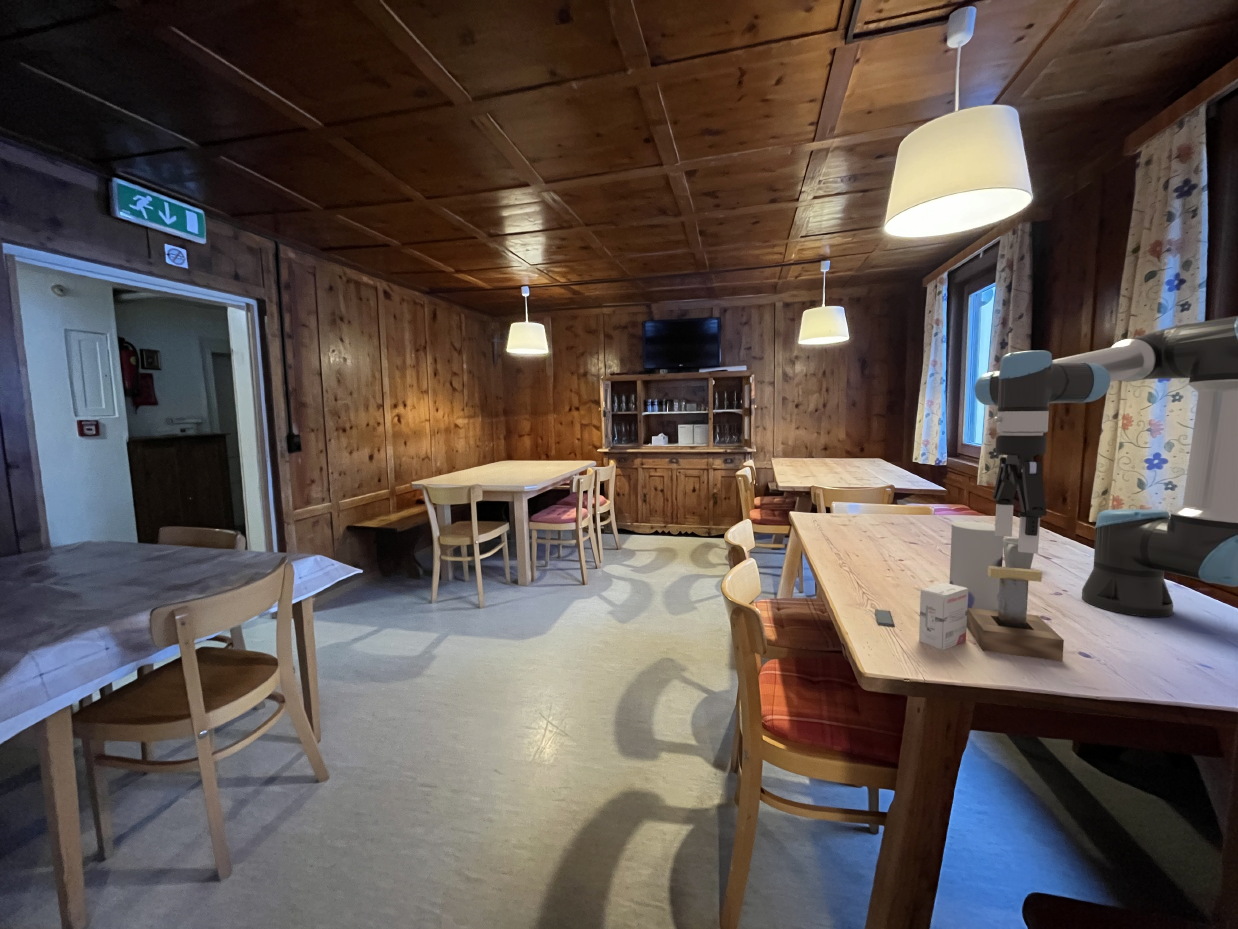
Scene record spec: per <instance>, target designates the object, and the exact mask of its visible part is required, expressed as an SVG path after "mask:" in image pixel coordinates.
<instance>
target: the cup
mask: <svg viewBox="0 0 1238 929" xmlns="http://www.w3.org/2000/svg"><path fill="white" fill-rule="evenodd" d="M1018 541H1019V537H1018V538H1017V537H1016V538H1015V537H1004V540H1003V558H1004V565H1005V566H1004V567H1008V568H1021V569H1032V568H1031V567H1032V563H1033V559H1034V554H1035V553H1026V552H1019V551H1018Z"/></svg>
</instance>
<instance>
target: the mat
mask: <svg viewBox="0 0 1238 929" xmlns="http://www.w3.org/2000/svg"><path fill="white" fill-rule="evenodd" d="M874 613H875V616H876V621H877V625H879V626H885V627H894V628H895V627H896V625H895V622H894V618H893V616H892V613H891V611H890V610H886V609H885V610H884V609H878V608H877V609H876V608H875V609H874Z"/></svg>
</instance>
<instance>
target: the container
mask: <svg viewBox="0 0 1238 929" xmlns="http://www.w3.org/2000/svg"><path fill="white" fill-rule="evenodd" d="M1004 539H1005V536H995V524H993V523H988V522H982V521H981V522H980V521H965V520H964V521H954V522H952V523H951V534H950V558H949V559H950V560H949V561H950V562H949V584H952V585H957V586H961V587H965V588H967V589H968V607H967V608H973V609H982V610H992V611H998V601H999V580H1000V578H992V577H990V576H989V575H988V566H995V567H1003V558H1004V549H1003V540H1004Z"/></svg>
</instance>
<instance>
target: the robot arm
mask: <svg viewBox="0 0 1238 929" xmlns="http://www.w3.org/2000/svg"><path fill="white" fill-rule="evenodd" d="M1052 356H1053V354H1052V353H1051V352H1050V351H1048V350H1025V351H1017V352H1016V351H1015V352H1010V353H1007V354H1005V355H1003V356H1002V357H1001V360H1000V366H999V370H994V371H991V372H986V373H983V374H982V375H981V376H979V378H978V379H977V380H976V382H975V386H974V395H975V398H976V400H977V401H978V402H979V403H981V404H983V405H985V406H996V407H997V416H995V417H994V418H993V421H994V422H997V423H996V432H997V433H1000V434H999V435H997V436H996V437H995V454H997V455H1001V456H1000V458H999V465H998V466H999V467H998V472H997V475H996V476H997V477H996V480H995V481H996V482H995V485H994V489H993V493H992V499H993V500H994V501H995V502H994V503H996V506H995V520H994V522H995V536H1004V537H1006V538H1013V536H1012V535H1013V522H1014V505H1016V504H1017V503H1016V500H1015V495H1016V493H1017V496H1018V500H1019V505H1020V508H1021V511H1019V512H1018V514H1017V517H1018V518H1019V526H1018V527H1019V528H1018V539H1019V541H1018V551H1019V552H1026V553H1034V554H1039V544H1040V542H1039V541H1040V529H1041V528H1040V526H1041V518H1042V517H1046V516H1047V514H1048V513H1047V504H1046V501H1045V500H1046V498H1045V490H1044V483H1043V476H1042V473H1043V472H1042V471H1043V470H1042V468H1043V467H1042V466H1043V464H1042V462H1041V461H1034V457H1035V456H1037V457H1039V456H1044V455H1045V454H1046V452H1047V443H1048V442H1047V441H1048V440H1047V439H1048V437H1047V436H1046V435H1044V434H1045V433H1047V432H1048V431H1049V416H1050V415H1049V413H1050V411H1049V408H1050V407H1049V406H1050V404H1063V403H1065V404H1067V403H1068V404H1069V403H1073V404H1083V403H1090V402H1095V401H1097V400H1099V399H1100V398H1102V397H1104V395H1105V394H1106V393H1107V392H1108V391H1109V389H1110V386H1111V383H1113V382H1116V381H1120V382H1124V383H1130V382H1131V383H1132V382H1137V381H1141V380H1159V379H1161V380H1163V379H1164V380H1165V379H1167V380H1168V379H1189V381H1188V385H1189V386H1190V387H1191V389H1192V388H1193V389H1194V390H1195V391H1196V393H1197V400H1196V409H1195V415H1194V422H1193V430H1192V437H1191V444H1190V451H1189V458H1188V465H1187V471H1186V479H1185V486H1184V495H1183V502H1182V505H1181V506H1179V507H1178V508H1175V509H1174V510H1171V511H1170V513H1169V511H1167V510H1163V509H1147V508H1146V509H1145V508H1144V509H1140V508H1139V509H1137V508H1134V509H1133V508H1132V509H1131V508H1127V509H1125V508H1121V509H1119V508H1118V509H1105V510H1102V511H1100V512H1099V513H1098V514H1097V518H1096V524H1095V526H1094V530H1095V532H1094V534H1095V535H1094V550H1093V551H1094V552H1093V554H1094V555H1093V568H1092V571H1091V572H1090V574H1089V575H1088V578H1087V579H1086V581H1085V583H1084V585H1083V587H1082V589H1081V599H1082V600H1083V601H1084V602H1085V603H1088V604H1090V605H1092V606H1095V607H1097V608H1101V609H1104V610H1108V611H1110V612H1116V613H1122V614H1126V615H1132V616H1136V617H1137V616H1139V617H1147V618H1148V617H1149V618H1165V617H1171V616H1172V615H1173V614H1174V603H1173V599H1172V597H1171V594H1170V591H1169V589H1168V587H1167V584H1166V581H1165V573H1170V574H1175V575H1179V576H1184V577H1188V578H1192V579H1194V580H1200V581H1202V582H1204V583H1208V584H1216V585H1221V586H1222V585H1223V586H1226V587H1234V588H1236V587H1238V315H1235V316H1228V317H1221V318H1217V319H1211V320H1204V321H1198V322H1192V323H1185V324H1178V325H1174V326H1169V327H1166V328H1163V329H1160V330H1155V331H1153V332H1150V333H1145V334H1143V335H1139V336H1135V337H1132V338H1127V339H1123V340H1120V341H1118V342H1115V344H1113V345H1112V346H1111V347H1107V348H1101V349H1098V350H1094V351H1088V352H1084V353H1080V354H1075V355H1074V354H1073V355H1070V356H1065V357H1061V358H1056V359H1053V358H1052Z"/></svg>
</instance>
